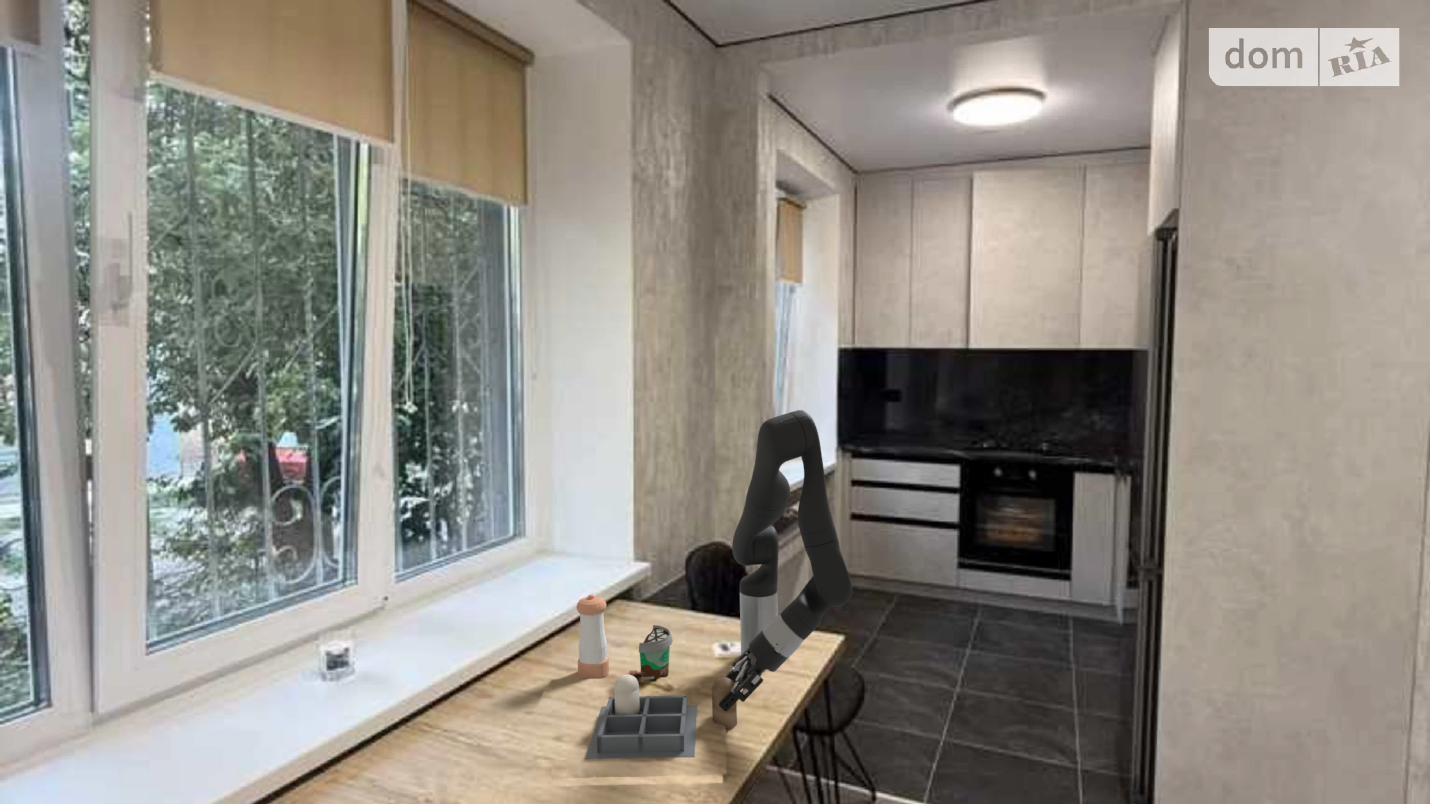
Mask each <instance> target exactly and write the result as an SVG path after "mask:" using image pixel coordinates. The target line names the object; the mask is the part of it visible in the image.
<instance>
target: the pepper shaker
mask: <svg viewBox="0 0 1430 804" xmlns="http://www.w3.org/2000/svg"><path fill="white" fill-rule="evenodd" d="M575 608H576V610H577V612H578V613H579V616H580V617H579V618H580V621H579V624H580V625H579V626H580V630H579V631H580V633H579V641H578V661H577V676H578V677H579V678H580V679H583V680H589V679H590V680H594V679H595V680H596V679H597V680H599V679H603V678H605V677H606V676H608V675H609V673H610V665H609V664H610V662H609V661H610V660H609V658H610V657H609V656H608V643H607V638H606V632H605V626H604V624H605V622H604V612H605V611H606V608H607V602H606V601H605V599H604V598H603V597H601V596H596V595H595V594H588V596H585V597H582V598H581V599H579V600H578V602H577V604H576V607H575Z"/></svg>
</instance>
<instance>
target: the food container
mask: <svg viewBox="0 0 1430 804" xmlns="http://www.w3.org/2000/svg"><path fill="white" fill-rule="evenodd" d="M638 644H639V645H638V653H639V661H640V664H639V665H640V677H641V680H643V681H644V680H645V681H646V680H655V679H659V678H660V679H661V678H668V677H667V676H669V670H670V669H669V667H670V647H671V646H672V644H673V635H672V633H671V631H670V629H668V628H667V627H665V626H662V625H656V624H653V625H652V630H651V632H650V633H649V634H647V636H646V637H645V639H644V641H643V642H638Z"/></svg>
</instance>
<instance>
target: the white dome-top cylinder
mask: <svg viewBox="0 0 1430 804" xmlns="http://www.w3.org/2000/svg"><path fill="white" fill-rule="evenodd" d="M613 691H614V697H615V715H637V714H640V703H639V696H640V685H639V680H638V679H637V678H636V677H635V676H634V675H633V674H632V675H631V674H629V673H627V674H623V675H622V674H621V676H619V677H618V678H617V679H616V680H615V682H614V690H613Z"/></svg>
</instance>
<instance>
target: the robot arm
mask: <svg viewBox="0 0 1430 804" xmlns="http://www.w3.org/2000/svg"><path fill="white" fill-rule="evenodd" d="M819 435H820V434H819V431H818V429H817V426H816V423H815V420H814V419H813V417H812V416H811V414H809V413H808V412H807V411H805V410H802V409H797V410H794V411H790V412H788V413H787V412H786V413H784V414H780V415H777V416H774V417H771V418H769V419H767V420H765V421H764V422H762V424H761V426H760V428H759V430H758V435H757V441H756V442H757V443H756V454H755V460H754V466H753V471H752V475H751V478H750V482H749V486H748V489H747V493H746V496H745V502H744V506H743V511H742V514H741V516H740V519H739V521H738V524H737V526H736V528H735V531H734V534H733V537H732V543H731V544H732V545H731V546H732V547H731V548H732V549H731V550H732V556H733V558H734V561H736V563H737V564H739V565H742V566H756V565H760V566H759V567H758V568H757V569H756V570H754V571H753V572H751V573H748V574H747V575H745V576H743V577H742V578H741V579H740V581H739V614H740V617H739V618H740V619H739V620H740V656H738V657H737V658H736V659H735V661H733V662H732V663H731V666H732V667H731V668H730V670H729V673H727V674H726V675H725V676H724V677H726V678H729V679H731V680H732V681H733V682H734V684H735V685H734V687H733V688H732V690H731V691H730V692H729V693H728V694H727V695H726V696H725V697H724V698H723V699H722V700H721V701H720V702H719V706H720V707H721V708H722V709H723V710H724V711H728V710H729V709H730V708H731V707H732V706H733V705H734V704H735V703H736V702H738V701H739V700H740V701H741V703H744V702H745V701H746V700H747V699H748V698H749V697H750V696H751V695H752V694H753V692H754V691H755V690H756V689H757V688H758V687H759V686H760V685H761V684H763V682H764V679H763V677H762V673H764V671H765V670H768V671H769V672H771V673H775V672H776V671H777V670H779V668H781V666H782V665H783V664H784V663H785V662H786V661H787V660H788V659H789V658H790V657H791V656H792V655H793V654H794V653H795V652H796V651H797V650H798V649H799V647H801V645H802V643H803V642H804V641H805V640H806V639H807V638H808V637H809V636H810V635H811V634H812V633H813V632H814V631H815V630H816V629H817V628H818V627H819V625H820V624H821V622H822V620H823V617H824V615H825V613H826V612H827V611H828V610H829V609H830V607H833V608H838V607H839V608H840V607H843V606H844V605H846V604H847V603H848V602H849V601H850V599H851V598H852V595H853V583H852V581H851V577H850V573H849V571H848V568H847V565H846V563H845V560H844V558H843V554H842V552H841V547H840V546H841V545H840V539H839V537H838V534H837V530H836V526H835V523H834V520H833V517H832V512H831V509H830V503H829V499H828V491H827V485H826V475H825V469H824V468H825V467H824V462H823V461H824V460H823V455H822V447H821V442H820V441H821V440H820V437H819ZM797 458H801V460H802V465H803V481H802V482H803V484H802V489H801V494H800V498H799V502H798V507H797V526H798V528H799V533H800V536H801V540H802V543H803V546H804V550H805V553H806V554H807V558H808V559H809V563H810V566H811V571H812V574H813V575H812V577H811V578H810V579H809V580H808V581H807V583H806V584H805V586H804V587H803V588H802V590H801V591H800V593H799V594H798V595H797V597H795V599H793V600H792V601H791V602H790V603H789V604H788V605H787V606H785V608H783V610H782V611H781V612H780V613H779V610H778V607H779V606H778V605H779V604H778V581H779V549H780V548H779V547H780V546H779V535H778V532H777V529H776V528H775V527H774V526H773V524H774V523H776V522H778V520H780V518H781V517H782V516H783V515H784V514H785V510H786V509H787V505H788V502H789V500H790V495H791V486H790V483H789V481H788V479H787V477H786V476H785V475H784V474H783V473H782V471H781V470H780V468H781V466H782V465H783V464H785V463H787V462H789V461H792V460H795V459H797Z"/></svg>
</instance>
